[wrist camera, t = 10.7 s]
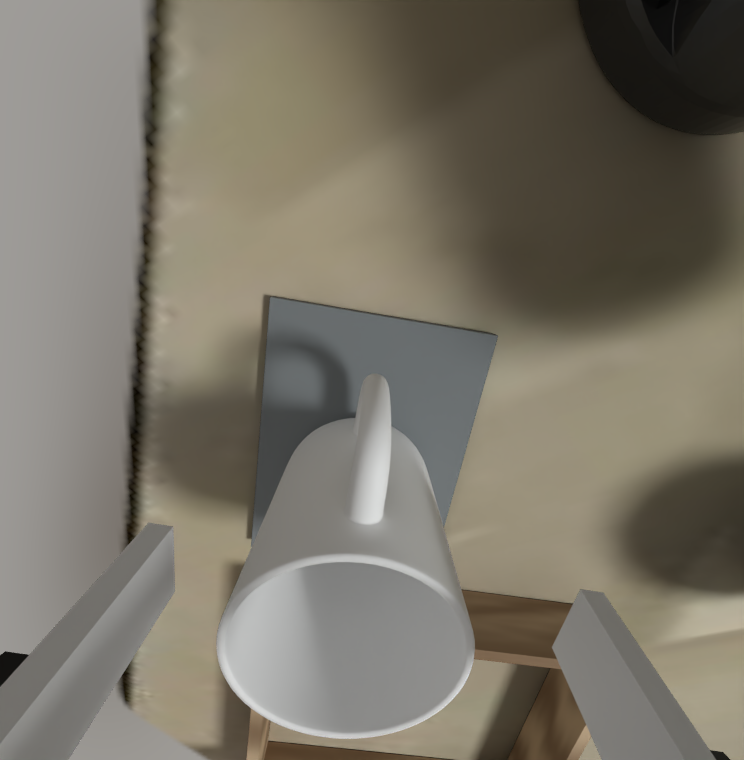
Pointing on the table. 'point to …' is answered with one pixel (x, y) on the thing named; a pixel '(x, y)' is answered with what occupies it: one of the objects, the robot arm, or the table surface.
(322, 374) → the mat
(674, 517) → the table surface
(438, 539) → the cup
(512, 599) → the frame
